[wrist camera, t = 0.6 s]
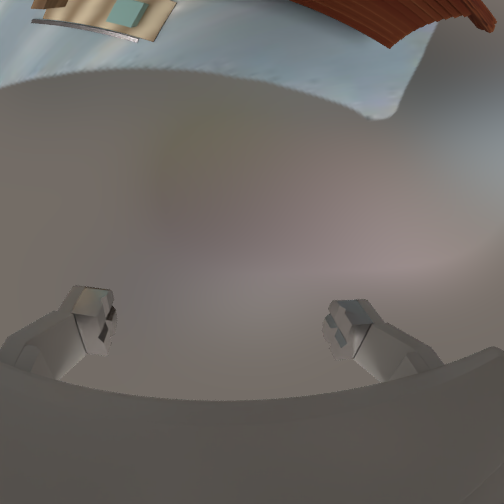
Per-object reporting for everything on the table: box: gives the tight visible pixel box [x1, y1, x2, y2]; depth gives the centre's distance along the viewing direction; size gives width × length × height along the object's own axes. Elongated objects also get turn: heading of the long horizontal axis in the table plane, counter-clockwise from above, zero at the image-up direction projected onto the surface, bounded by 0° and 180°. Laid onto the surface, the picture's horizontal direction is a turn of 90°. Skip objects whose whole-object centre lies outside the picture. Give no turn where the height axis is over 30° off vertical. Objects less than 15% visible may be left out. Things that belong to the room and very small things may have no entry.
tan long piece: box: [31, 0, 177, 42], centre depth 24 cm, size 26×9×10 cm, turn 57°
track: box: [31, 19, 139, 43], centre depth 25 cm, size 26×11×1 cm, turn 58°
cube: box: [106, 0, 149, 28], centre depth 28 cm, size 5×5×5 cm
